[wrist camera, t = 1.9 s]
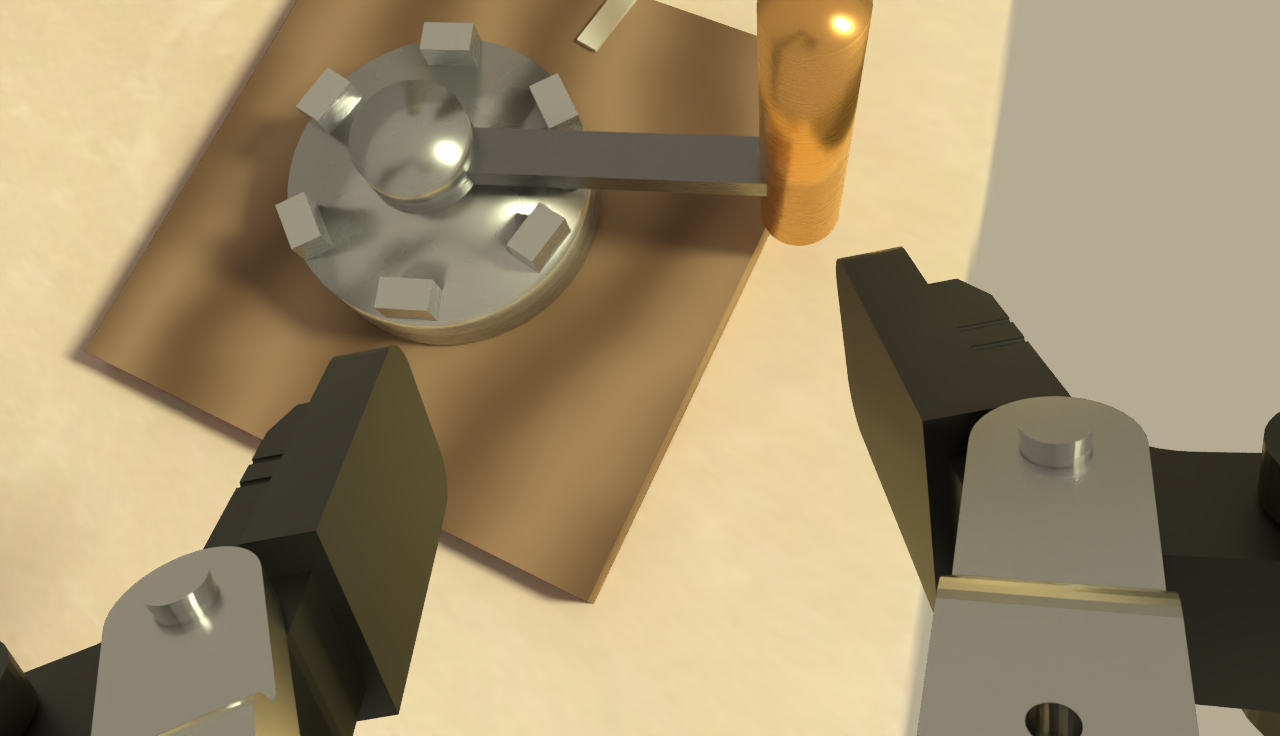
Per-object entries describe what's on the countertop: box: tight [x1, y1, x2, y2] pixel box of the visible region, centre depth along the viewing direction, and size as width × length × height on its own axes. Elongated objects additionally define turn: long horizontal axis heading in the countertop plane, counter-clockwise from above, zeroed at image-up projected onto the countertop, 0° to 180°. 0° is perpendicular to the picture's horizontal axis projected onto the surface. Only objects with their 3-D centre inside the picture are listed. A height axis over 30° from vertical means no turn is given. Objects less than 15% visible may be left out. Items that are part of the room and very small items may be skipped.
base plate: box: [85, 0, 770, 604], centre depth 43 cm, size 24×24×2 cm
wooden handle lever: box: [275, 0, 873, 345], centre depth 35 cm, size 22×12×14 cm, turn 84°
